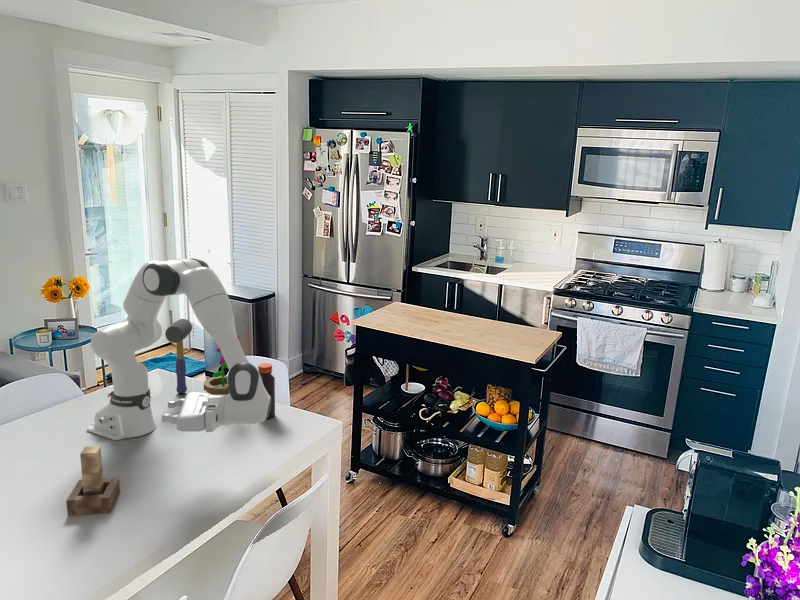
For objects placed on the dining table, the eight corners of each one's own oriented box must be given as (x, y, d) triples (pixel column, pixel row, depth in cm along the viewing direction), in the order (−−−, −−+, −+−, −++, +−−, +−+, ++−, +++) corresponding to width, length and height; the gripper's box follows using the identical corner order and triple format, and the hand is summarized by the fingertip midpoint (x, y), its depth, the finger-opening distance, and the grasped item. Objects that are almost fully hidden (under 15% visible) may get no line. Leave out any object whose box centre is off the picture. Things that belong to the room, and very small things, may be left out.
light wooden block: (105, 498, 168) (100, 445, 164) (101, 507, 164) (96, 452, 160) (89, 500, 167) (84, 446, 163) (84, 508, 163) (79, 453, 159)
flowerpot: (222, 417, 222) (220, 339, 216) (196, 408, 230) (193, 332, 223) (251, 405, 234) (249, 331, 227) (225, 397, 241) (223, 324, 235)
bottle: (278, 415, 226) (278, 364, 222) (265, 421, 220) (265, 369, 216) (265, 411, 229) (265, 361, 225) (252, 417, 224) (251, 365, 219)
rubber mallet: (186, 399, 238) (182, 326, 231) (166, 398, 237) (163, 325, 231) (196, 387, 250) (193, 317, 243) (177, 387, 250) (174, 317, 243)
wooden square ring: (120, 492, 171) (119, 477, 170) (110, 512, 161) (109, 497, 160) (80, 494, 169) (78, 480, 168) (67, 515, 159) (66, 500, 158)
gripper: (218, 386, 187) (171, 387, 184) (210, 414, 167) (157, 415, 164) (218, 405, 188) (171, 406, 185) (211, 435, 169) (158, 436, 166)
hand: (165, 410), depth 175 cm, fingers open, 8 cm apart
